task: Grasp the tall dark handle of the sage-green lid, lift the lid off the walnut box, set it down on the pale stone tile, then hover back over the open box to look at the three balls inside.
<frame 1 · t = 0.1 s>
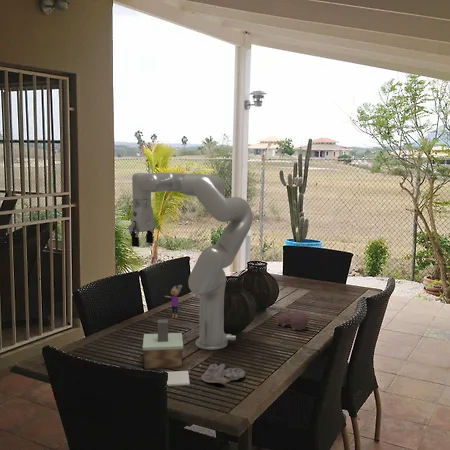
hand: (142, 244, 219), 37 cm above the table, tool pointing down, fingers open, 9 cm apart
fossil: (223, 378, 179), on the table
toy 2: (292, 328, 230), on the table
walnut box: (163, 361, 192), on the table
stone tile: (173, 379, 177), on the table
lid: (162, 342, 191), point 7 cm above the table, touching walnut box
ball terracotta: (171, 351, 195), point 2 cm above the table, touching walnut box
toy: (175, 317, 244), on the table
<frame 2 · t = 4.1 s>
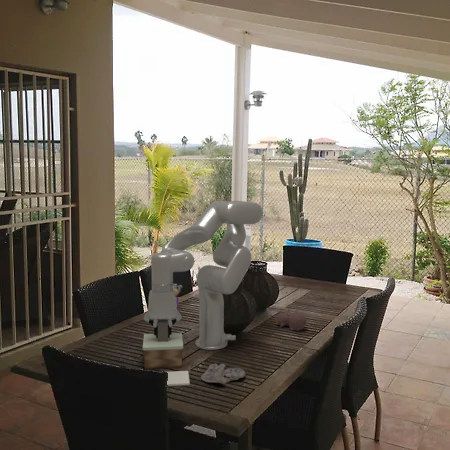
hand: (162, 336, 191), 9 cm above the table, tool pointing down, fingers closed on lid, 3 cm apart
lid: (162, 342, 191), point 7 cm above the table, touching gripper, walnut box
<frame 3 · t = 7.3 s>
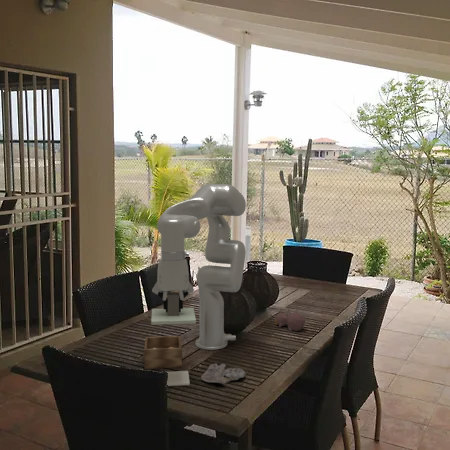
hand: (173, 310, 174), 24 cm above the table, tool pointing down, fingers closed on lid, 3 cm apart
lid: (173, 317, 174), point 21 cm above the table, touching gripper
when the fingers open (4 cm above the table, at t = 10.3 s): lid drops 2 cm, resting on stone tile.
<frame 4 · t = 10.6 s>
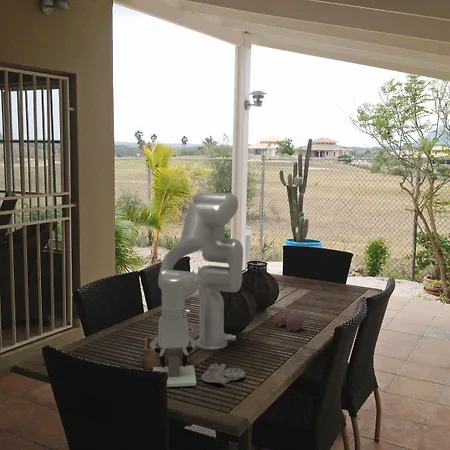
hand: (173, 365, 176), 5 cm above the table, tool pointing down, fingers open, 6 cm apart
lid: (174, 377, 177), point 1 cm above the table, touching stone tile
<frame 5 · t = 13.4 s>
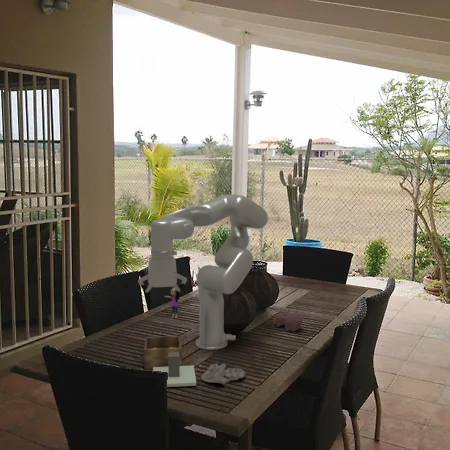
hand: (163, 301, 189), 22 cm above the table, tool pointing down, fingers open, 9 cm apart
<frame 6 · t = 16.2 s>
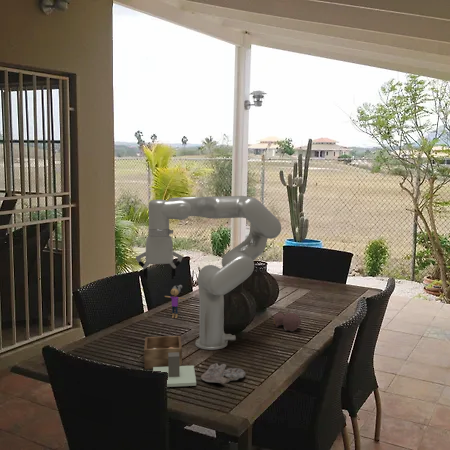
hand: (159, 278, 198), 28 cm above the table, tool pointing down, fingers open, 9 cm apart
at the end: lid inside the target area on the stone tile (0.0 cm from its centre), point 0.6 cm above the stone tile's base; lid touching stone tile; lid tilted 0° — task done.
